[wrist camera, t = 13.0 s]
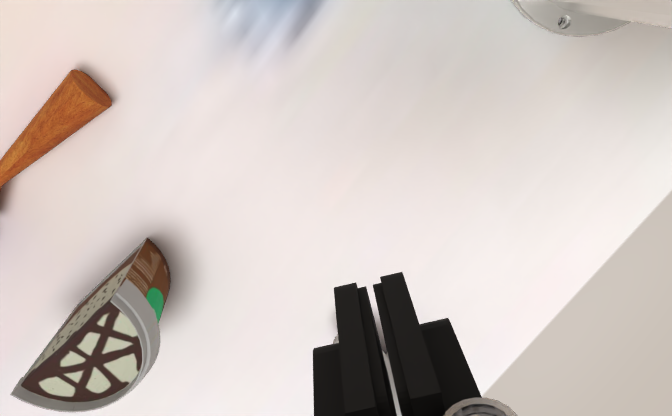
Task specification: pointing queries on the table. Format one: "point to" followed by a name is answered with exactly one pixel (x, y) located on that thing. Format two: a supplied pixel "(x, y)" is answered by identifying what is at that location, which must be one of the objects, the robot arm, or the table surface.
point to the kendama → (55, 122)
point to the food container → (103, 339)
